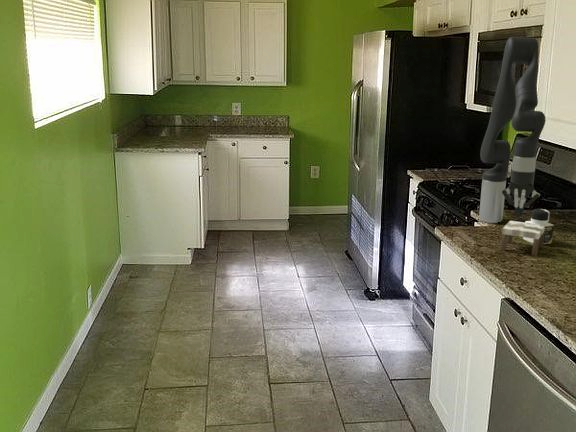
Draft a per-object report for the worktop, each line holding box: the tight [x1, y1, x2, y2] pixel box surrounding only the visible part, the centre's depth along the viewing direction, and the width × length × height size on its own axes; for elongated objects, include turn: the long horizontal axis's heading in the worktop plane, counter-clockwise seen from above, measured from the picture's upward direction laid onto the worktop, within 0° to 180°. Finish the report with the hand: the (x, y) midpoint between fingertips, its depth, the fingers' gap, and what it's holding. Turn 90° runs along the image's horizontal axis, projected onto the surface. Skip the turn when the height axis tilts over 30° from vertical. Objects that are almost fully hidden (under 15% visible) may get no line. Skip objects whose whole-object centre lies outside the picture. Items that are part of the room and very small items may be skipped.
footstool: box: [500, 220, 545, 257], centre depth 215 cm, size 12×8×12 cm
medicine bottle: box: [522, 208, 554, 245], centre depth 223 cm, size 7×7×12 cm
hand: (518, 217), depth 215 cm, fingers closed
